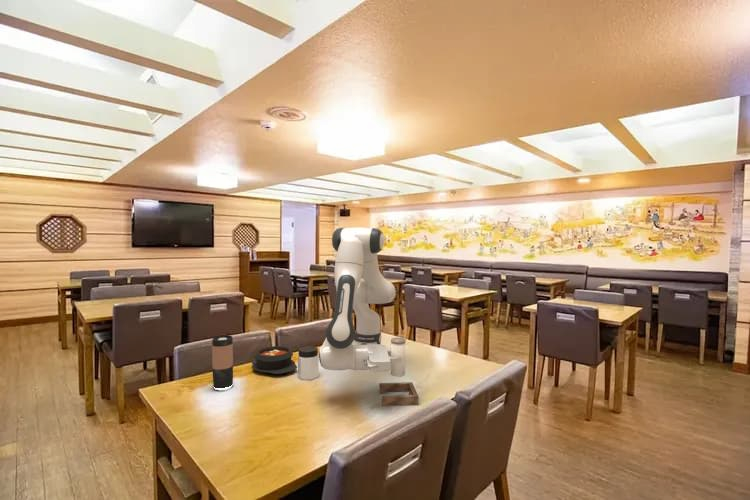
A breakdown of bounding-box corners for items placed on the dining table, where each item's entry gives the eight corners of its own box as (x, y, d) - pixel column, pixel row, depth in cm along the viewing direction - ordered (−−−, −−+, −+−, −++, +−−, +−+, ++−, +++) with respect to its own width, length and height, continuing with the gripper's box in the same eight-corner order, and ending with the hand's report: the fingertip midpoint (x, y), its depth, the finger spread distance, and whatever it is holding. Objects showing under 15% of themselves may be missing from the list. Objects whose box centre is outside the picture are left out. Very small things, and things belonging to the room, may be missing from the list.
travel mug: (237, 385, 149) (237, 336, 149) (222, 393, 142) (221, 341, 142) (223, 382, 153) (222, 334, 152) (208, 389, 146) (207, 339, 145)
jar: (320, 378, 157) (320, 350, 156) (301, 381, 153) (301, 353, 153) (314, 371, 165) (314, 344, 165) (296, 374, 161) (296, 347, 161)
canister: (389, 376, 136) (389, 340, 136) (392, 371, 141) (392, 337, 141) (403, 377, 135) (404, 342, 134) (406, 372, 140) (406, 338, 140)
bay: (382, 405, 132) (382, 397, 132) (379, 390, 145) (379, 383, 145) (418, 404, 133) (418, 396, 132) (412, 389, 146) (412, 382, 145)
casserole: (307, 370, 166) (307, 352, 166) (269, 382, 153) (269, 362, 153) (277, 357, 184) (277, 341, 184) (241, 367, 171) (241, 349, 170)
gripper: (364, 358, 127) (404, 357, 128) (362, 341, 147) (396, 340, 148) (364, 376, 127) (404, 375, 128) (362, 357, 147) (396, 356, 148)
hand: (400, 356), depth 138 cm, fingers closed on canister, 5 cm apart
